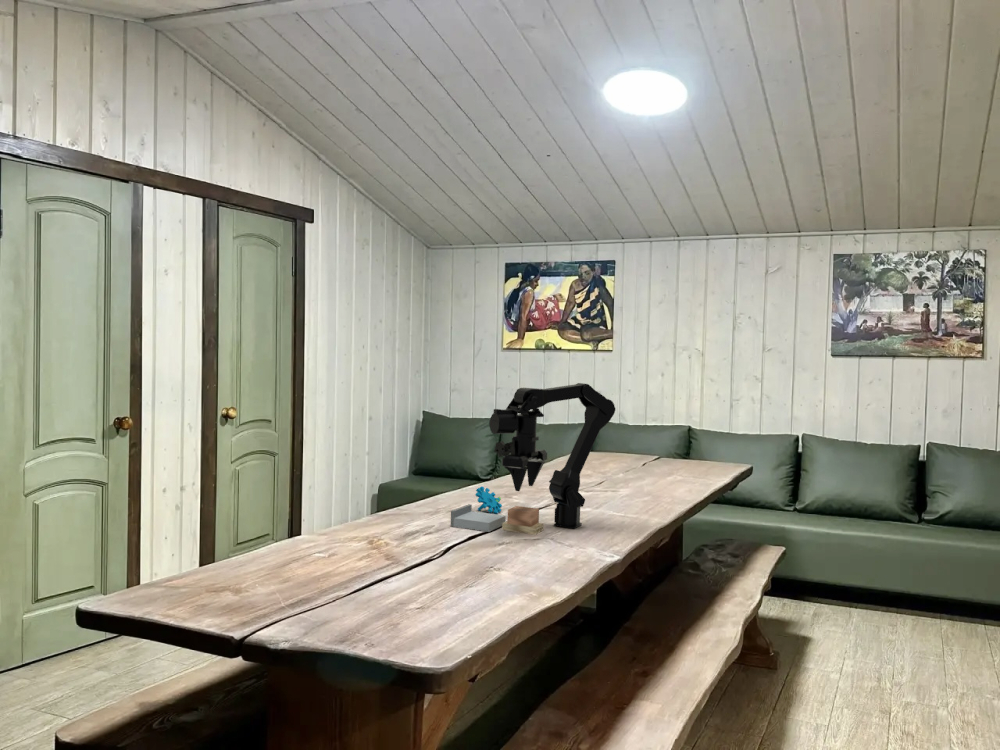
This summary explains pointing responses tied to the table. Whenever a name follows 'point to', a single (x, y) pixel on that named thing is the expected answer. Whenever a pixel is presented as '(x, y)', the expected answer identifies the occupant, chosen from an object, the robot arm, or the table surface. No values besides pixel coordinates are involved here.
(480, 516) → the dock
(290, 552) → the table surface
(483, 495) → the gear
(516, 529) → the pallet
